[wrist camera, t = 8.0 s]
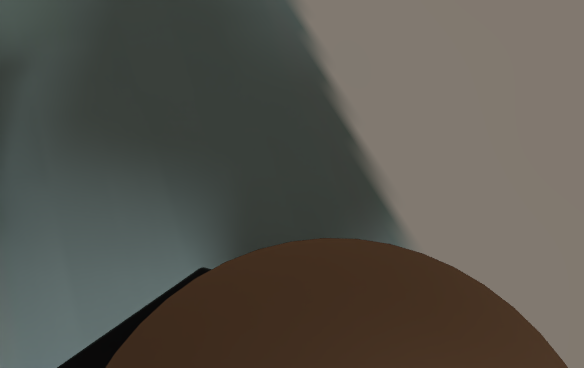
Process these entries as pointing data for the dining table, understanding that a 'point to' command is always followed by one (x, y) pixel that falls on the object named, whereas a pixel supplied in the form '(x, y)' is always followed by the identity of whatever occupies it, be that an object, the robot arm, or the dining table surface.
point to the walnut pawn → (335, 315)
